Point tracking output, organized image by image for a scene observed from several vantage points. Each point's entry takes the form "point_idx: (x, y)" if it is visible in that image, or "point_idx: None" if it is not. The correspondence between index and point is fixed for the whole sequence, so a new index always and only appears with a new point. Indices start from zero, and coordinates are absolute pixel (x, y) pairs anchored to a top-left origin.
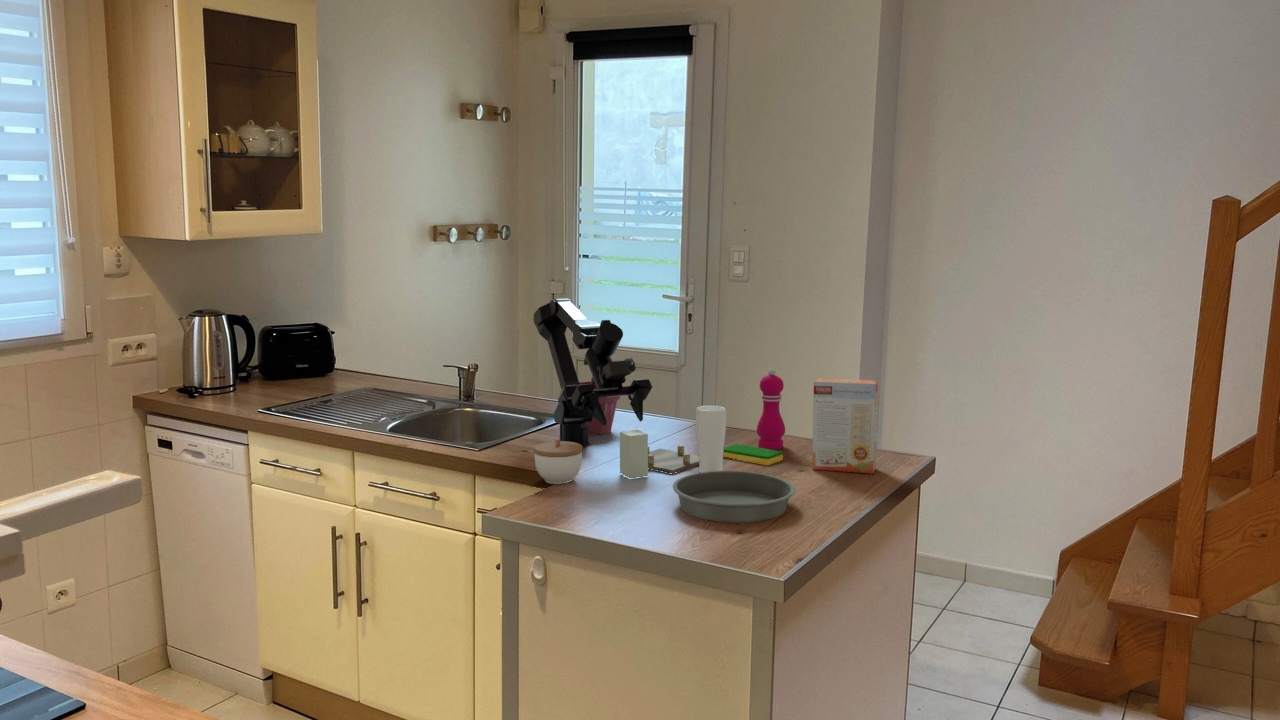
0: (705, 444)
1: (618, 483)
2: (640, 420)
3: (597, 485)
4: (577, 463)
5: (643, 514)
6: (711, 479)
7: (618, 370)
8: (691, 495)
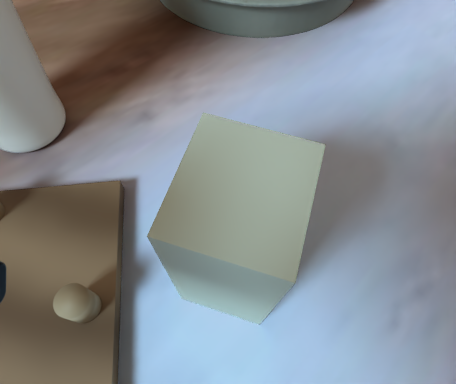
0: (23, 29)
1: (340, 239)
2: (2, 289)
3: (419, 273)
4: None
5: (443, 28)
6: (201, 1)
7: None
8: (268, 34)
